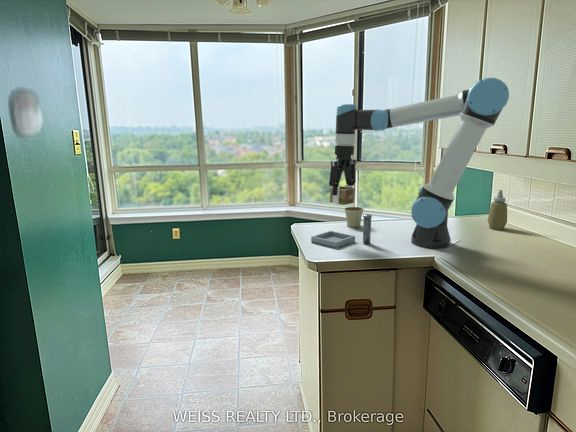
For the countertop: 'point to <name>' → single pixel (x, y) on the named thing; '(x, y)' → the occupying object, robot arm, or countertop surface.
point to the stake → (367, 228)
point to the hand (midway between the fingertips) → (341, 201)
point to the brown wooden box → (344, 195)
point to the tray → (332, 239)
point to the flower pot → (353, 216)
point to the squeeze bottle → (498, 212)
